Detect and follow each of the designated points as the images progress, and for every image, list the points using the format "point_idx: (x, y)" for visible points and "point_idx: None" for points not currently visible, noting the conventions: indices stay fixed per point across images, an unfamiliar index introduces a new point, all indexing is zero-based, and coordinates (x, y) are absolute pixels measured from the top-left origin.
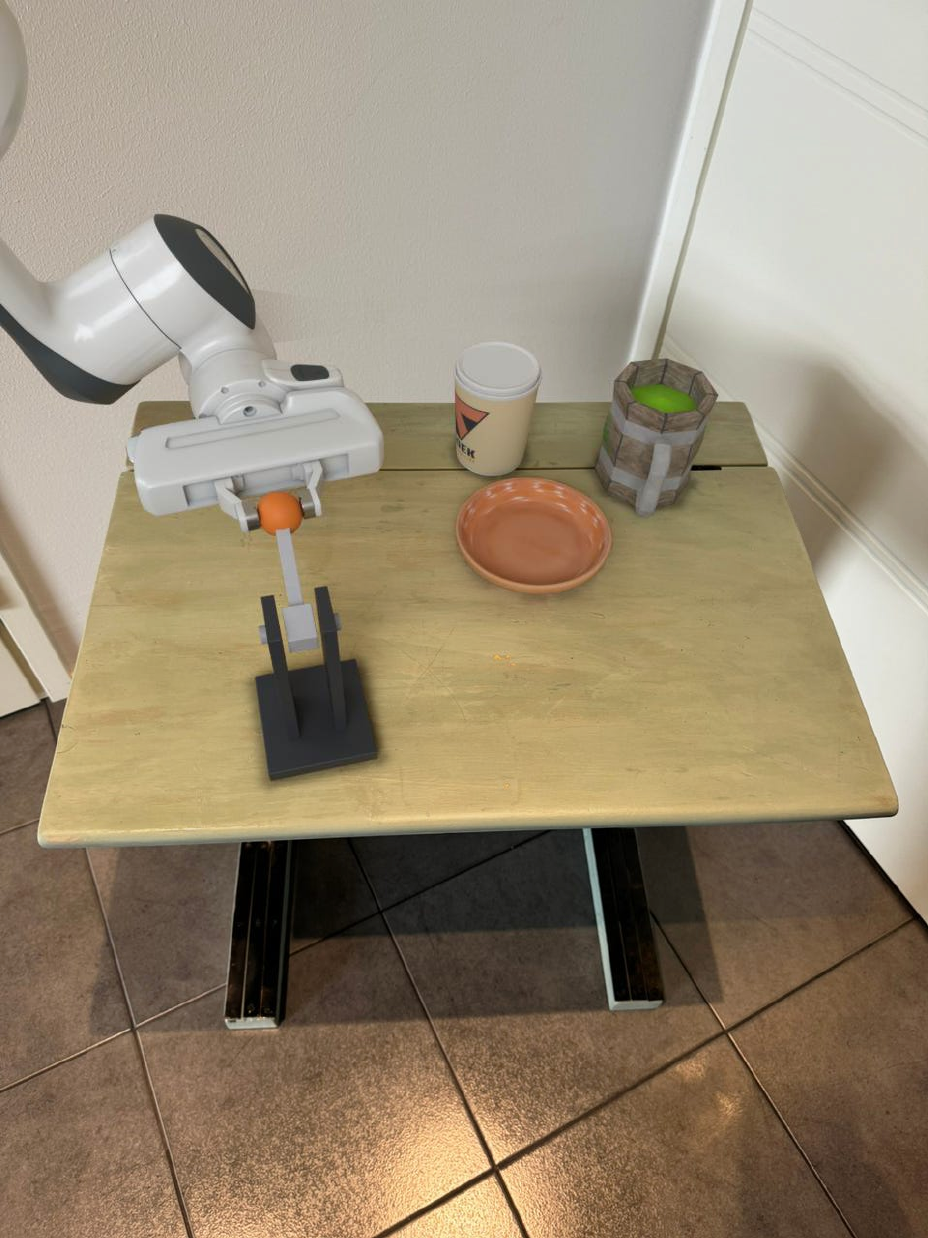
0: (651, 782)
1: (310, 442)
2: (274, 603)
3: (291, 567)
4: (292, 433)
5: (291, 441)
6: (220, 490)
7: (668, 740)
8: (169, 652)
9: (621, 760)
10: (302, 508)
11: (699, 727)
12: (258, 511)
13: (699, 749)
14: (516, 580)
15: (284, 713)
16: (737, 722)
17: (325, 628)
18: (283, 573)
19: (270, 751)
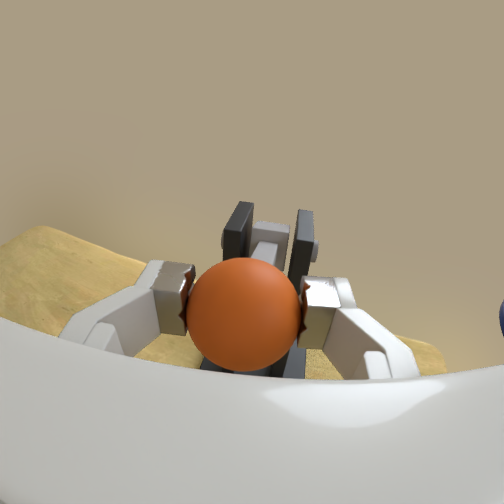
0: (90, 255)
1: (16, 374)
2: (297, 232)
3: (259, 256)
4: (26, 464)
5: (60, 422)
6: (400, 348)
7: (62, 264)
8: None
9: (89, 266)
10: (193, 275)
11: (45, 262)
12: (298, 298)
13: (57, 256)
14: None
15: None
16: (33, 257)
17: (250, 204)
18: (274, 257)
19: None
